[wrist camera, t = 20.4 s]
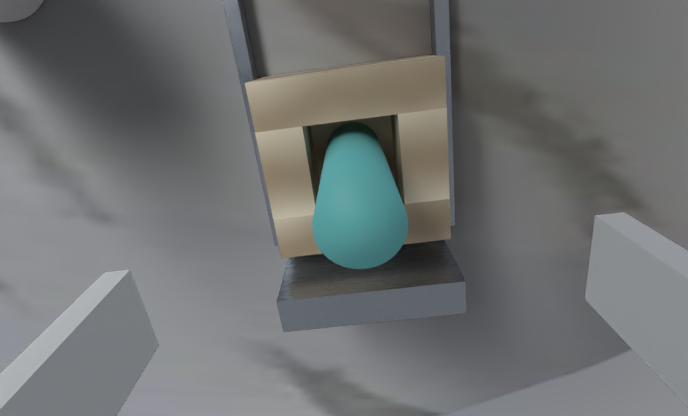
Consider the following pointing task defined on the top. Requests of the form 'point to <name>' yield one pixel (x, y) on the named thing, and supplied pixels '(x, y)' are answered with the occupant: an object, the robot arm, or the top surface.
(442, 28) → the backstop
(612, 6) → the top surface
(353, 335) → the top surface
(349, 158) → the dowel
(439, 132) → the block
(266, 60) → the top surface
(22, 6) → the coffee cup
